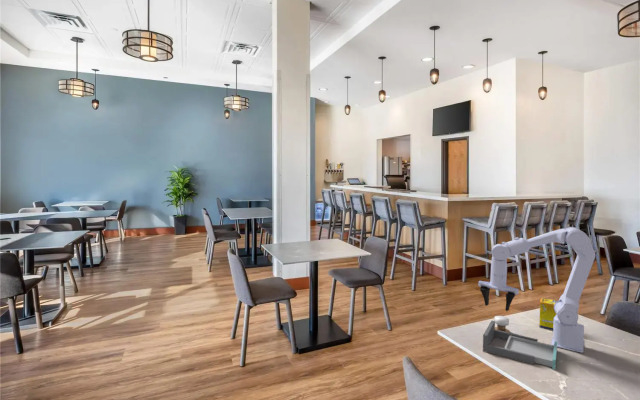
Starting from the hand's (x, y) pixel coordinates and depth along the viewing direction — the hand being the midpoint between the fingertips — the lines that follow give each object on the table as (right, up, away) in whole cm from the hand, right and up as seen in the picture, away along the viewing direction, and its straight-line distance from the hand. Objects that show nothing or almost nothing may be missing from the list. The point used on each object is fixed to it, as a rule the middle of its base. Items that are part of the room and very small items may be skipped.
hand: (496, 307), depth 138 cm
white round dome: (+3, -7, +2) cm, 8 cm away
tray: (+4, -11, -17) cm, 21 cm away
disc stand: (+3, -10, +2) cm, 11 cm away
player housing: (-2, -11, -13) cm, 17 cm away
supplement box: (+25, -10, +6) cm, 28 cm away
